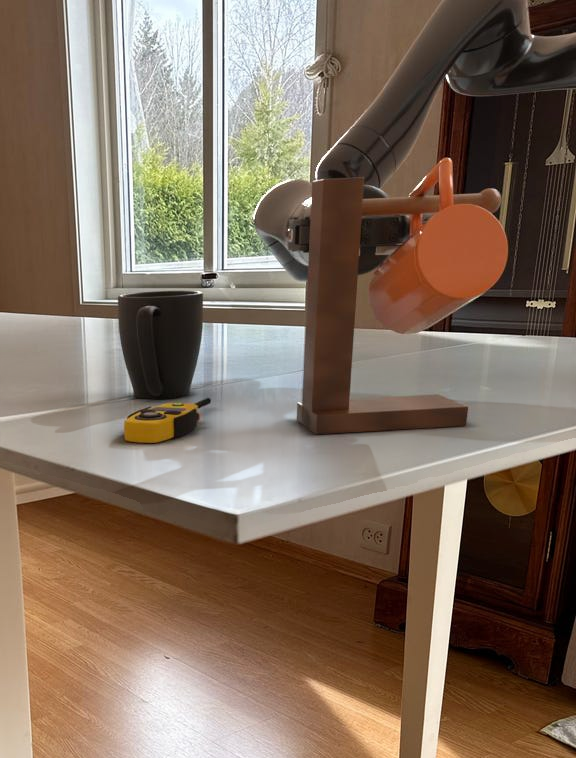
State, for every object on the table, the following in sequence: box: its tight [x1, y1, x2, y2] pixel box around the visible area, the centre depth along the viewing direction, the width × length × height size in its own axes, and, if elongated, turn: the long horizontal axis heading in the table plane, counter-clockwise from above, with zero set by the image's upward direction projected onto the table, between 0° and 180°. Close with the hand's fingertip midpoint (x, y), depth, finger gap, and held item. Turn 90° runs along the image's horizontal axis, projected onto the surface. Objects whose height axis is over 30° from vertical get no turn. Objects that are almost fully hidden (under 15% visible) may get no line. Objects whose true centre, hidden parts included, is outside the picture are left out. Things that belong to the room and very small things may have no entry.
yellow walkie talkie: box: [123, 397, 212, 444], centre depth 77 cm, size 5×2×15 cm
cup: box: [368, 157, 509, 335], centre depth 66 cm, size 10×6×10 cm
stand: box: [296, 177, 502, 435], centre depth 71 cm, size 14×6×18 cm, turn 93°
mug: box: [117, 290, 204, 400], centre depth 88 cm, size 8×12×10 cm
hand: (406, 230), depth 71 cm, fingers open, 8 cm apart
